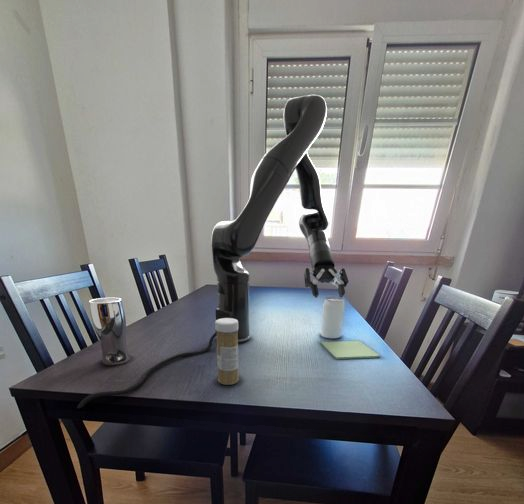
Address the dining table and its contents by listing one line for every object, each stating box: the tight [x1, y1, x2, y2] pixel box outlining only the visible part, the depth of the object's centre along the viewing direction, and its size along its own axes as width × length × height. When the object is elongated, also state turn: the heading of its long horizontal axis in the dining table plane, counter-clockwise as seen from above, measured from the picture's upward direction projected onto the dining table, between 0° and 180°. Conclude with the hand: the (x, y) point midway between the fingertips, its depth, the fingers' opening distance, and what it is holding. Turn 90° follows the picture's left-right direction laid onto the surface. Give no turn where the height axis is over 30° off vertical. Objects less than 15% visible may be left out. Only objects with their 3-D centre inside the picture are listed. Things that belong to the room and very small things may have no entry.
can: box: [320, 296, 346, 340], centre depth 89 cm, size 6×6×12 cm
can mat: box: [321, 340, 381, 360], centre depth 79 cm, size 12×12×1 cm
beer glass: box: [88, 297, 131, 366], centre depth 67 cm, size 7×7×15 cm
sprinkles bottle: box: [214, 318, 240, 386], centre depth 58 cm, size 5×5×13 cm
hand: (329, 296), depth 91 cm, fingers open, 8 cm apart
